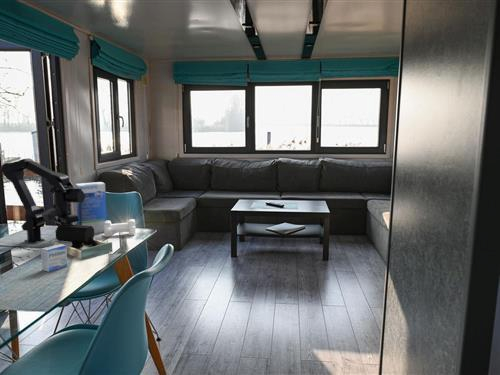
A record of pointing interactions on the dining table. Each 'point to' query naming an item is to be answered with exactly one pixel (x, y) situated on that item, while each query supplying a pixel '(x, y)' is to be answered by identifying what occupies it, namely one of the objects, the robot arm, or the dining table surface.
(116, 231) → the bone shaped toy
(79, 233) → the security camera
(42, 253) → the medicine box
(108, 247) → the charging rails
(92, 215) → the string lights box
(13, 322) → the dining table surface
